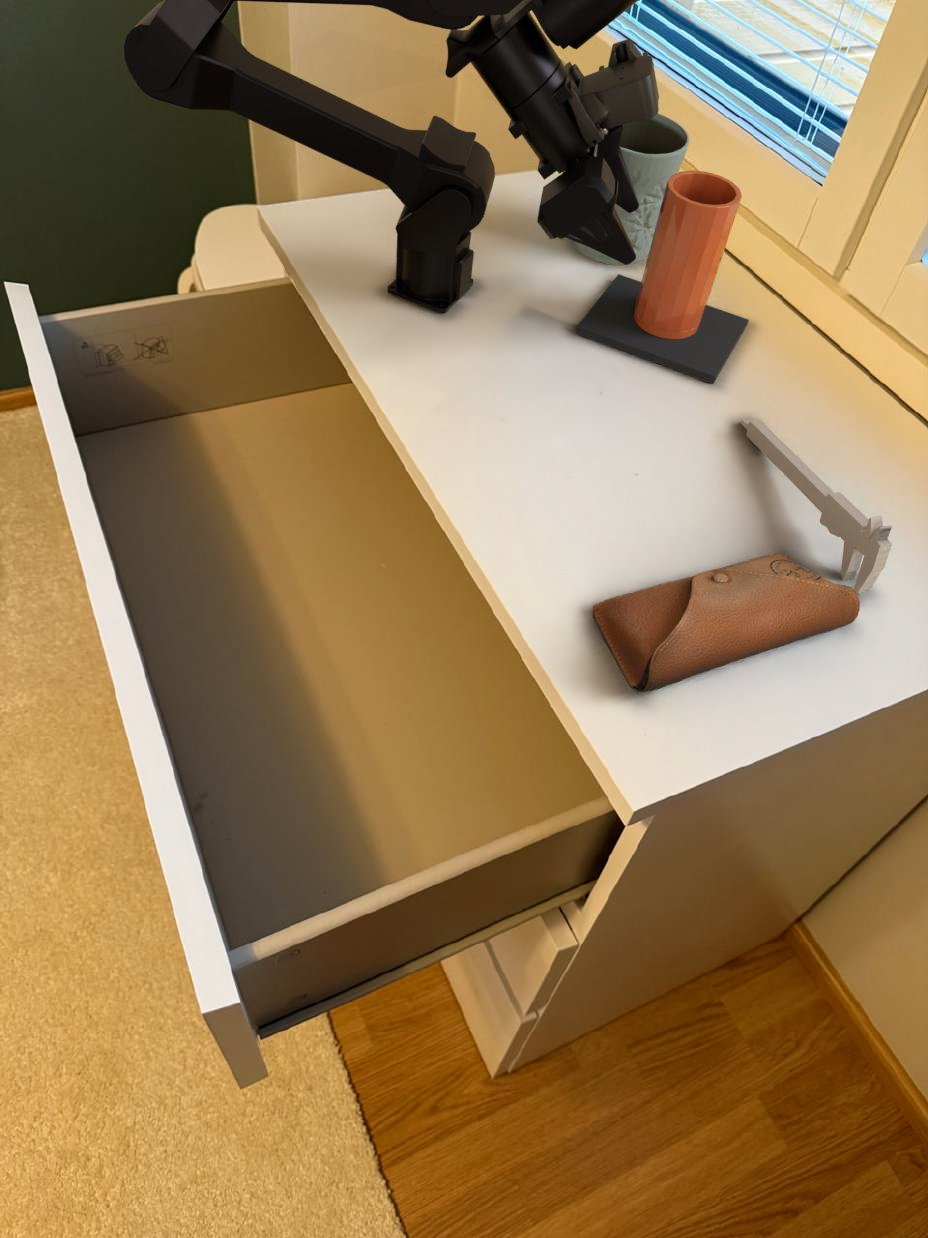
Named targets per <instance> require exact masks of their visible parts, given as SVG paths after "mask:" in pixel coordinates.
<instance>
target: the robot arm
mask: <svg viewBox="0 0 928 1238" xmlns="http://www.w3.org/2000/svg"><path fill="white" fill-rule="evenodd" d="M235 2H256V3H257V2H258V3H259V2H260V3H285V4H286V3H288V4H289V3H290V4H315V5H317V4H319V5H347V6H372V7H375V8H381V9H384V10H387V11H389V12H391V13H393V14H395V15H397V16H400V17H402V18H403V19H405V20H407V21H410V22H414V23H418V24H421V25H422V24H423V25H427V26H431V27H436V28H439V29H444V30H450V31H449V33H448V36H447V37H446V40H445V41H446V42H445V43H446V47H447V48H446V49H447V60H446V66H445V72H444V73H445V76H446V77H447V78H449V79H452V78H454V77H455V76H456V75H457V74H459V73H460V72H461V71H462V70H463V69H465V68H466V67H467V66H468V65H469V64H471V66H472V67H473V68H474V69H475V71H476V72H477V73H478V75H479V76H480V78H481V79H482V81H483V82H484V83H485V85H486V87H488V89H489V91H490V92H491V93H492V95H493V96H494V97H495V99H496V100H497V102H498V104H499V105H500V106H501V108H502V109H503V110H504V112H505V113H506V115H507V116H508V118H509V119H510V121H509V124H508V128H507V129H508V131H509V133H510V134H511V136H512V137H513V138H514V140H517V139H519V138H520V137H521V136H522V138H523V139H524V140H525V141H526V143H527V144H528V146H529V147H530V149H531V150H532V152H533V153H534V154H535V156H536V157H537V158H538V166H537V172H538V173H539V175H540V176H541V178H542V179H543V180H544V181H545V180H546V179H548V178H549V177H551V176H552V175H554V174H555V173H557V174H559V175H558V176H557V177H555V178H554V179H552V180H551V181H549V182H548V183H547V184H545V185H543V186H542V193H541V196H540V197H541V198H540V202H539V208H538V213H537V219H536V223H538V225H539V226H540V228H541V229H542V231H543V232H544V233H545V235H546V236H547V237H548V239H549V240H556V239H559V240H563V239H568V240H570V241H572V240H573V241H575V242H578V243H580V244H583V245H585V246H588V247H590V248H592V249H594V250H596V251H598V252H600V253H602V254H604V255H606V256H608V257H611V258H613V259H615V260H617V261H619V262H621V263H623V264H625V265H626V266H627V265H630V264H629V263H631V262H633V261H634V260H635V259H636V254H635V252H634V249H633V247H632V245H631V242H630V240H629V238H628V236H627V234H626V231H625V229H624V227H623V225H622V223H621V221H620V218H619V216H618V214H617V212H616V210H615V208H614V206H615V204H617V205H618V206H620V207H621V208H622V209H624V210H625V211H627V212H628V213H632V212H634V211H635V210H637V209H638V208H639V202H638V199H637V196H636V193H635V191H634V188H633V185H632V182H631V179H630V176H629V173H628V170H627V167H626V164H625V161H624V158H623V155H622V152H621V149H620V141H621V136H622V132H623V125H624V124H626V123H630V122H633V121H637V120H638V121H640V122H642V121H646V120H649V119H651V118H653V117H654V116H656V115H657V113H659V110H660V109H659V99H660V94H659V88H658V82H657V77H656V71H655V64H654V61H653V60H654V59H653V56H651V55H649V52H648V51H644V52H642V53H641V51H640V50H639V49H638V47H637V46H636V45H635V44H634V43H633V41H632V40H631V38H627V39H624V40H621V41H617V42H614V43H613V44H612V46H611V50H610V55H609V59H608V63H607V67H605V65H603V64H602V65H599V67H598V70H597V71H595V72H592V73H589V74H587V75H584V74H583V73H582V71H581V69H580V68H579V66H578V65H577V64H576V63H574V64H573V63H572V62H571V61H568V62H567V63H566V64H564V63H563V61H562V59H561V58H560V57H559V55H558V53H557V52H556V50H555V49H554V47H553V46H552V44H553V45H554V46H556V47H560V48H561V49H562V50H565V49H566V48H568V47H570V48H572V49H573V50H578V49H579V48H581V47H582V46H583V45H585V44H586V43H587V42H588V41H589V40H590V39H592V38H594V37H595V36H596V35H597V34H598V33H599V32H601V31H602V30H603V29H604V28H606V27H607V26H608V25H609V24H611V23H612V22H613V21H615V20H616V19H617V18H619V17H620V16H621V15H622V14H624V13H625V12H626V11H628V9H629V8H632V6H633V5H635V4H636V3H637V2H639V0H162V1H160V2H158V4H156V5H155V6H154V7H153V8H152V9H151V10H149V12H148V13H146V15H145V16H144V17H143V18H142V19H140V20H139V22H137V24H135V25H134V26H133V27H132V28H131V30H130V31H129V32H128V34H127V35H126V36H125V41H124V44H123V55H124V56H123V57H124V58H123V59H124V61H125V64H126V67H127V70H128V72H129V73H130V75H131V77H132V78H133V80H134V84H135V85H136V87H137V88H138V89H140V91H141V92H142V93H144V94H145V95H147V96H149V97H150V98H152V99H154V100H157V101H160V102H164V103H167V104H171V105H174V106H178V107H181V108H185V109H189V110H192V111H193V110H194V111H215V112H217V111H218V112H230V113H234V114H236V115H238V116H241V117H242V118H245V119H247V120H249V121H251V122H253V123H255V124H257V125H260V126H262V127H264V128H265V129H268V130H270V131H273V132H274V133H277V134H279V135H281V136H282V137H285V138H288V139H290V140H291V141H293V142H296V143H297V144H300V145H302V146H304V147H306V148H309V149H311V150H313V151H315V152H317V153H319V154H321V155H323V156H326V157H328V158H330V159H331V160H334V161H337V162H338V163H340V164H343V165H345V166H347V167H349V168H351V169H353V170H355V171H358V172H359V173H361V174H364V175H366V176H367V177H370V178H372V179H375V180H376V181H379V182H381V183H382V184H384V185H385V186H387V187H388V188H389V189H390V190H391V192H392V193H393V194H394V195H395V197H397V199H398V200H399V201H400V202H401V203H402V204H403V205H404V206H403V208H402V210H401V212H400V216H399V218H398V220H397V223H396V225H395V231H396V257H395V258H396V260H395V263H396V264H395V279H394V280H392V282H391V283H390V284H388V285H387V287H386V291H387V293H388V294H390V295H392V296H395V297H398V298H400V299H402V300H405V301H408V302H411V303H413V304H416V305H419V306H421V307H424V308H426V309H429V310H432V311H435V312H437V313H439V314H446V313H447V312H448V311H449V310H450V309H451V308H452V307H453V306H454V305H455V304H456V303H457V302H458V301H460V300H461V299H462V298H463V297H464V296H465V295H466V294H467V292H469V291H470V289H471V288H472V287H473V286H474V278H472V275H473V267H474V266H473V265H474V256H475V252H474V249H471V239H472V231H473V230H474V229H476V228H477V227H478V226H479V225H480V224H481V222H482V221H483V219H484V217H485V214H486V211H487V207H488V204H489V200H490V197H491V193H492V189H493V186H494V183H495V178H496V170H495V169H496V168H495V164H494V161H493V159H492V157H491V153H490V151H488V149H487V148H486V147H485V146H484V145H483V144H481V143H480V142H478V141H476V137H477V133H476V132H475V131H466V130H462V129H460V128H457V127H455V126H454V125H453V124H451V123H450V122H449V121H447V120H446V119H444V118H442V117H440V116H437V115H433V116H432V118H431V119H430V122H429V124H428V127H427V129H408V128H406V127H405V128H404V127H401V126H400V125H397V124H396V123H394V122H391V121H389V120H387V119H386V118H383V117H381V116H379V115H377V114H375V113H372V112H371V111H369V110H366V109H364V108H363V107H361V106H358V105H356V104H354V103H351V102H350V101H349V100H346V99H344V98H341V97H340V96H337V95H335V94H333V93H332V92H329V91H327V90H325V89H323V88H322V87H319V86H318V85H315V84H313V83H311V82H309V81H307V80H304V79H302V78H301V77H299V76H297V75H294V74H292V73H290V72H288V71H286V70H284V69H282V68H280V67H278V66H276V65H274V64H271V63H270V62H268V61H266V60H264V59H261V58H259V57H258V56H256V55H254V54H252V53H251V52H250V51H249V50H248V49H247V48H246V47H245V46H244V45H243V43H242V42H241V41H240V40H239V39H238V38H237V36H236V35H235V34H233V32H232V31H231V30H230V28H228V27H227V25H225V24H224V23H223V22H224V19H225V18H226V16H227V15H228V14H229V12H230V10H231V8H232V7H233V5H234V4H235ZM531 12H532V14H533V15H534V16H533V15H532V14H531ZM478 17H480V19H478V20H477V21H476V19H477V18H478ZM534 17H535V18H536V19H535V18H534ZM536 20H537V21H536ZM475 21H476V22H475ZM473 22H474V24H472V23H473ZM537 22H538V23H537ZM468 26H470V27H469V28H468ZM466 27H467V28H468V29H465V28H466ZM550 42H551V43H552V44H551V43H550ZM625 265H624V266H625Z"/></svg>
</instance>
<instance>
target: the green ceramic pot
mask: <svg viewBox="0 0 928 1238" xmlns="http://www.w3.org/2000/svg"><path fill="white" fill-rule="evenodd" d="M689 146H690V136H689V133H688V131H687V130H686V129H685V127H683V126H682V125H681V124H679V123H678V122H676V121H675V120H674V119H671V118H670V117H668V116H667V115H666V116H665V115H663V114H662V113H659V112H658V113H657V115H656V116H654V117H653V118H651V119H649V120H646V121H642V122H640V121H638V120H637V121H633V122H630V123H626V124H624V125H623V132H622V136H621V141H620V149H621V152H622V155H623V158H624V161H625V164H626V167H627V170H628V173H629V176H630V179H631V182H632V185H633V188H634V191H635V193H636V196H637V199H638V202H639V208H638V209H637V210H635V211H634V212H632V213H628V212H627V211H625V210H624V209H622V208H621V207H620V206H618V205H617V204H615V206H614V208H615V210H616V212H617V214H618V216H619V218H620V221H621V223H622V225H623V227H624V229H625V231H626V234H627V236H628V238H629V240H630V242H631V245H632V247H633V249H634V252H635V254H636V259H635V260H634V261H633V262H631V263H629V264H628V265H633V264H636V263H639V262H641V261H644V260H645V258H646V257H648V254H649V250H650V246H651V243H652V239H653V235H654V231H655V227H656V223H657V220H658V216H659V212H660V208H661V204H662V200H663V196H664V193H665V189H666V185H667V182H668V180H669V178H670V177H671V176H672V175H674V174H676V173H678V172H680V169H681V167H682V164H683V162H684V159H685V156H686V154H687V151H688V148H689ZM571 242H572V244H573V246H574V248H575V249H576V250H577V251H578V252H579V253H580V254H582V255H583V256H585V257H587V258H588V259H590V260H592V261H595V262H598V263H602V264H607V265H613V266H625V264H623V263H621V262H619V261H617V260H615V259H613V258H611V257H608V256H606V255H604V254H602V253H600V252H598V251H596V250H594V249H592V248H590V247H588V246H585V245H583V244H580V243H578V242H575V241H573V240H571Z"/></svg>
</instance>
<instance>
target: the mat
mask: <svg viewBox="0 0 928 1238" xmlns="http://www.w3.org/2000/svg"><path fill="white" fill-rule="evenodd" d="M640 285H641V281H639V280H636V279H634V278H630V277H629V276H625V275H622V274H617V275H616V277H615V278H614V279H613V280H612V281H611V282H610V284H609V285H608V287H607V288H606V289H605V290H604V292H603V293H602V294H601V295H600V297H598V299H597V300H596V302H595V303H594V304H593V305H592V307H591V308H590V309H589V310H588V312H587V313H586V314H585V315H584V317H583V318H582V319H581V320H580V322H579V323H578V325H577V326H576V329H575V333H576V334H577V335H581V336H583V337H585V338H588V339H591V340H594V341H596V342H599V343H601V344H605V345H607V346H610V347H613V348H614V349H619V350H620V351H623V352H626V353H629V354H631V355H635V356H637V357H639V358H642V359H645V360H648V361H651V362H653V363H655V364H659V365H661V366H664V367H667V368H669V369H672V370H675V371H678V372H680V373H682V374H685V375H689V376H691V377H694V378H696V379H699V380H701V381H704V382H708V383H710V384H714V383H715V382H716V381H717V379H718V377H719V375H720V374H721V372H722V370H723V369H724V366H726V363H727V361H728V359H729V358H730V356H731V355H732V352H733V351H734V349H735V348H736V346H737V344H738V343H739V341H740V339H741V337H742V336H743V333H744V332H745V330H746V329H747V327H748V325H749V321H750V319H749V318H745V317H743V316H739V315H736V314H734V313H731V312H728V311H725V310H722V309H719V308H716V307H713V306H710V305H708V304H707V305H706V308H705V311H704V314H703V317H702V320H701V322H700V325H699V328H698V330H697V332H696V333H695V334H693V335H692V336H690V337H687V338H683V339H665V338H661V337H657V336H654V335H652V334H650V333H648V332H646V331H644V330H643V329H642V328H641V327H639V325H638V324H637V323H636V321H635V319H634V310H635V304H636V300H637V297H638V293H639V289H640Z"/></svg>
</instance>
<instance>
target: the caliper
mask: <svg viewBox="0 0 928 1238" xmlns="http://www.w3.org/2000/svg"><path fill="white" fill-rule="evenodd" d="M740 424H741V425H742V426H743V427H744V428H745V429H746V434H745V435H746V437H747V438H748V439H749V440H750V441H751V442H752V443H753V444H754V445H755V446H756V447H757V448H758V449H759V450H760V451H761V453H762V454H764V455H765V456H766V457H767V458H768V459H769V461H771V462H772V464H773V465H775V467H776V468H777V469H778V470H779V471H780V472H781V473H782V474H784V476H786V478H787V479H788V480H789V481H790V482H791V483H792V484H793V485H794V486H795V487H796V488H797V489H798V491H800V492H801V493H802V494H803V496H804V497H806V499H807V500H809V502H811V504H812V505H813V506H814V507H815V508H816V509H817V510H818V511H819V512H820V513H821V514H820V518H819V523H820V524H821V525H822V526H824V527H825V528H826V529H827V530H828V532H829V533H830V534H831V535H834V536H835V537H837V538H840V539H841V540H843V548H842V549H843V550H842V558H841V567H840V576H841V580H842V581H851V580H854V579H855V578H856V580H855V583H854V586H853V588H852V589H853V590H854V591H855V592H856V593H857V594H858V593H859V594H860V593H864V592H869V591H870V590H871V589H872V588H873V586H874V584H875V583H876V582H877V580H878V578H879V576H880V575H881V573H882V572H883V570H884V569H885V567H886V564H887V562H888V561H887V560H888V558H889V554H890V553H891V549H892V545H893V543H892V542H891V541H890V540H889V536H890V533H891V530H892V528H893V525H883V524H884V523H883V522H884V521H883V515H880V516H873V517H869V518H868V517H867V516H866V515H865V514H864V513H863V512H861V510H860V509H859V508H858V507H856V505H854V504H853V502H851V501H850V500H849V499H848V498H847V497H846V496H845V495H844V494H843V493H841V491H838V492H834V491H833V490H832V489H831V487H829V486H828V485H827V484H826V483H825V482H824V481H823V480H822V479H821V478H820V477H819V476H818V475H817V474H816V473H815V472H814V471H813V470H812V469H811V467H809V466H808V465H807V464H806V463H805V462H804V461H803V460H802V459H801V458H800V457H799V456H798V455H797V454H796V453H795V452H794V451H792V450H791V449H790V447H789V446H788V445H786V444H785V443H784V441H782V440H781V439H780V438H779V437H778V436H777V434H775V433H774V432H773V430H772V429H770V427H768V426H767V425H766V424H765V423H764V422H763V421H762V420H761V419H753V418H750V419H741V420H740ZM857 572H858V573H857ZM856 575H857V577H856Z"/></svg>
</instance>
